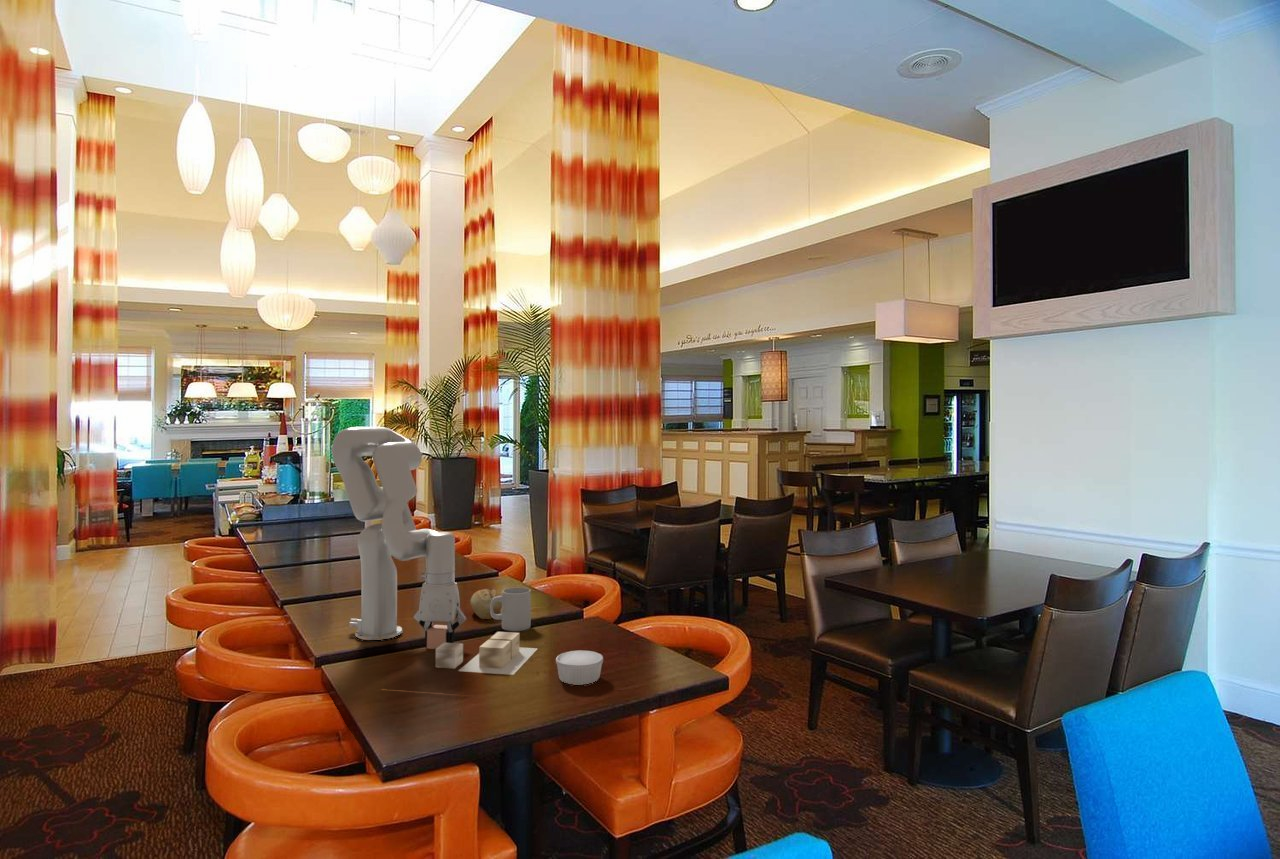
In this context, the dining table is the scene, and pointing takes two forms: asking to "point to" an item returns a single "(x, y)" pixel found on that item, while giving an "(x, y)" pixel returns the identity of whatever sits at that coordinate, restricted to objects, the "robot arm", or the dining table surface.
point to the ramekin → (579, 667)
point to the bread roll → (485, 603)
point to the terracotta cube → (436, 636)
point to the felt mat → (508, 669)
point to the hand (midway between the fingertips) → (439, 644)
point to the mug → (514, 609)
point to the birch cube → (449, 655)
